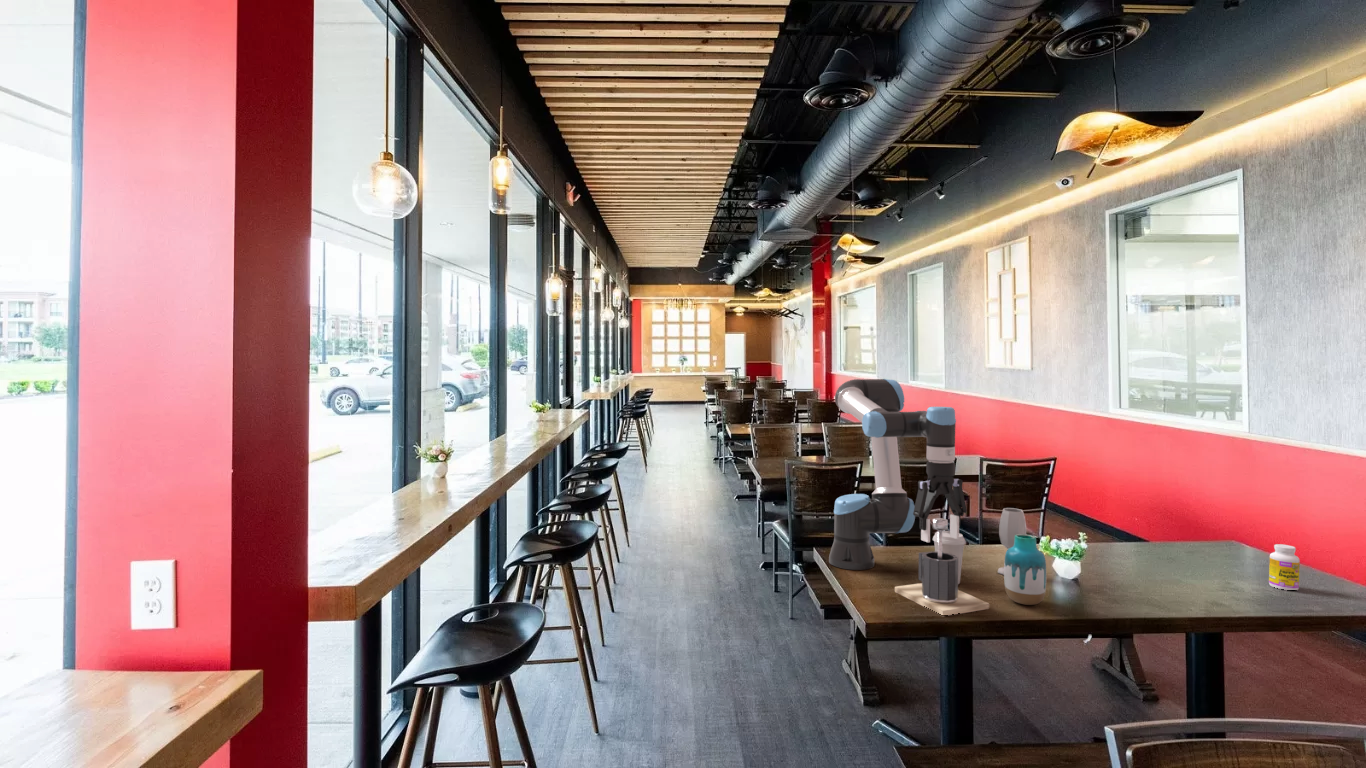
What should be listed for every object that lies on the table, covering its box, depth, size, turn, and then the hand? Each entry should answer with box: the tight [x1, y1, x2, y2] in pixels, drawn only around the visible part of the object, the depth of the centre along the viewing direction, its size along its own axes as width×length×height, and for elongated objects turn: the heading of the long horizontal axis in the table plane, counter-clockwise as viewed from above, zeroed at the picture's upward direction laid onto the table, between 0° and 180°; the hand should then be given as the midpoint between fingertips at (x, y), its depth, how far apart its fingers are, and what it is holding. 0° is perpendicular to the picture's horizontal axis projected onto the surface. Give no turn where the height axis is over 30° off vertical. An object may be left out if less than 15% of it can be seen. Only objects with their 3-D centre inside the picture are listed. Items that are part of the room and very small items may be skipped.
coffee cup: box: [932, 530, 966, 585], centre depth 198 cm, size 10×10×15 cm
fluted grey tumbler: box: [918, 550, 959, 604], centre depth 181 cm, size 12×9×12 cm
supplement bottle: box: [1268, 543, 1300, 591], centre depth 192 cm, size 7×7×13 cm
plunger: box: [932, 517, 949, 560], centre depth 179 cm, size 6×6×21 cm
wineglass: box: [997, 507, 1027, 576], centre depth 205 cm, size 9×9×21 cm
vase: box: [1003, 533, 1047, 606], centre depth 179 cm, size 11×11×19 cm
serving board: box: [894, 582, 990, 616], centre depth 182 cm, size 20×16×2 cm
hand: (940, 539), depth 179 cm, fingers open, 9 cm apart
